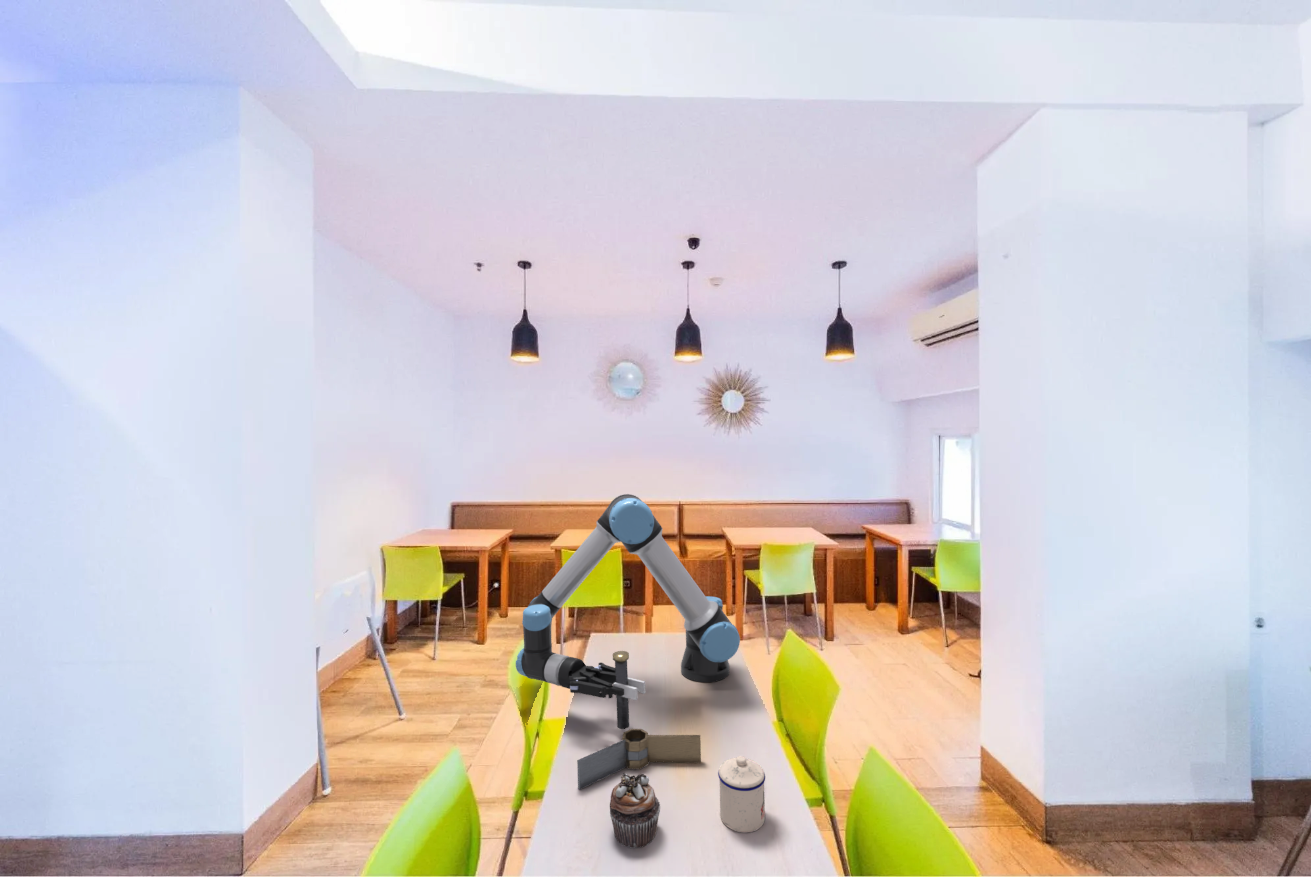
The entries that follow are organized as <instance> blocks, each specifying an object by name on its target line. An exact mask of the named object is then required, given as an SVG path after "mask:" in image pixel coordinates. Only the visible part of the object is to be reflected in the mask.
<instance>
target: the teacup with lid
mask: <svg viewBox="0 0 1311 877" xmlns="http://www.w3.org/2000/svg"><path fill="white" fill-rule="evenodd" d="M717 776H718V778H719V816H720V820H722V823H723V824H724V825H725V826H726V827H728V828H729V829H730V830H733V831H734V832H739V833H752V832H755V831H756V832H757V830H759V829H760V828H762V826H763V825H764V823H765V819H766V813H765V812H766V808H765V782H766V774H765V770H764V768H762V766H761V764H759V763H758V762H756V761H754V760H752V759H749V758H747V757H745V756H743V755H738V756H737V757H732V758H728V759H727V760H724V761H723V762H722V763H721V764H720V766H719V768H718V772H717Z"/></svg>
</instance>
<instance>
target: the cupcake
mask: <svg viewBox="0 0 1311 877" xmlns="http://www.w3.org/2000/svg"><path fill="white" fill-rule="evenodd" d="M620 779H621V780H620V782H618V783H617V784H616V785H615V786H614V787H613V788H612V790H611V794H610V802H609V815H610V820H611V824H612V827H613V832H614V837H615V838H616V841H617V842H618V843H620V845H622V846H624V847H627V848H633V849H637V848H638V849H640V848H641V847H642V846H643V847H645V846H647V845H649V844H650V843H651V842H653V841H652V840H654V838H656V834H657V828H658V822H659V817H660V811H661V804H660V801H659V799H658V798H657V796H656V793H655V789H654V788H653V786H652V785H651V784H650V778H649V776H647V775H646V774H645V773H643V772H642V773H640V774H638V775H634V774H633V775H631V776H630V775H629V774H627V773H626V772H625V771H624V772H623V773H622V774H621V777H620Z"/></svg>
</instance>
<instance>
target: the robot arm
mask: <svg viewBox="0 0 1311 877" xmlns="http://www.w3.org/2000/svg"><path fill="white" fill-rule="evenodd" d="M662 535H663V527H662V525H661V524H660V522H659V521H658V519H657V518H656V517H655V516H654V514H653V511H652V510H651V508H650V507H649V505H647V503H645V502H644V501H643V500H641V499H640V498H639V496H636V495H634V494H629V493H627V494H626V493H625V494H620V495H618V496H616V497H615V498H613V499H612V501H611V502H609V504H608V506H607V508H606V509H605V510H604V512H603V513H602V514H601V516H599V518H598V519H597V521H596V527H595V528H594V529H593V530H592V531H591V533H590V534H589V535H588V536H587V538H586V539H585V540H584V541H583V542H582V543H581V545H579V547H578V548H577V549H576V550H575V551H574V553H572V555H571V556H570V558H568V559H567V561H566V562H565V563H564V565H562V566H561V568H560V569H559V571H558V572H557V573H556V574H555V575H554V576H553V577H552V578H551V580H550V581H549V583H547V585H546V586H544V588H543V590H542V591H541V592H540V593H539V594H538V595H537V596H535V597H534V598H533V599H532V600H531V601H530V603H529V604H528V606H527V607H526V608H524V610H523V611H522V621H521V622H522V631H523V648H522V649H521V650H520V651H519V652H518V654H517V655H516V660H515V669H516V671H517V673H518V674H519V675H521V676H524V677H527V678H528V679H531V680H536V681H541V682H545V683H549V684H552V685H555V686H557V687H561V688H565V689H569V692H570V693H571V694H573V693H574V694H575V693H577V694H582V695H587V696H591V697H592V696H593V697H597V698H601V699H605V698H607V695H608V699H612V698H614V697H613V696H616V695H617V696H622V697H625V698H628V700H633V701H637V700H638V693H641V694H645V693H646V681H645V680H641V679H638V678H637V679H636V678H632V677H629V676H628V685H624V684H620V683H616V676H615V666H612V665H611V666H610V665H607V664H605V663H604V662H598V666H593V665H586V664H585V662H584V660H582V659H581V658H576V657H573V656H568V655H565V654H560V653H556V652H553V643H552V626H553V624H552V622H553V619H554V617H555V615H557V613H558V612H559V611H560V610H561V608H562V607H563V606H564V604H566V602H567V601H568V600H569V599H570V597H571V596H572V595H573V594H574V593H575V592H576V590H577V589H578V588H579V587H580V586H581V584H582V583H583V582H584V581H585V579H586V578H587V577H588V576H589V575H590V573H592V571H593V570H594V569H595V567H596V566H597V565H598V564H599V563H600V561H602V559H603V558H604V557H605V556H606V554H608V552H609V551H610V550H611V549H612V547H613V546H614V545H615V544H616V543H618V544H619V543H621V544H622V545H623V546H624V548H625V549H626V550H627V552H628V553H629V554H631V555H633V554H634V555H637V556H638V558H639V559H640V560H641V561H642V563H643V564H644V566H645V567H646V568H647V570H648V572H649V573H650V574H651V576H653V578H654V579H655V581H656V582H657V583H658V584H659V587H661V589H662V590H663V591H664V594H666V595H667V598H669V600H670V601H671V603H672V604H673V605H674V607H675V608H676V609H677V610H678V612H679V613H680V615H681V616H682V617H683V619H684V624H683V628H684V629H685V648H684V652H683V655H682V659H681V662H680V673H681V675H683V677H684V678H687V679H688V680H691V681H693V682H694V681H695V682H701V683H711V682H712V683H713V682H717V681H721V680H723V679H726V678H727V677H728V676H729V675H730V663H729V660H730V659H731V658H733V657H734V656H735V654H736V653H737V652H738V651H739V648H740V642H741V637H740V634H739V631H738V628H737V627H736V626H735V625H734V624H733V623H732V622H731V620H730V619H729V618H728V616H727V615H726V614H725V612H724V611H723V607H724V604H723V600H722V599H721V598H720V597H716V596H706V595H705V594H704V592H703V591H702V590H701V588H700V587H699V586H698V584H697V582H696V581H695V580H694V579H693V578H692V575H691V574H690V573H689V572H688V571H687V569H686V568H685V565H683V563H682V562H681V561H680V559H679V558H678V557H677V555H676V554H675V552H674V551H673V549H672V548H671V547H670V545H669V544H668V543H667V541H666V540H665V539H664V537H663V536H662Z"/></svg>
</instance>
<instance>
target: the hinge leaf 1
mask: <svg viewBox="0 0 1311 877" xmlns="http://www.w3.org/2000/svg"><path fill="white" fill-rule="evenodd" d="M641 740H643V739H641V738H632V739H630V740H629V741H630V742H639V741H641ZM647 756H648V747H647V748H645V749H643V750H642V751H640V752H635V751H628V750H626V741H625V739H624V740H622V739H621V740H620V741H617V742H615V743H613V744H611V745H609V746H605V747H604V748H602V749H600V750H597V751H595V752H593V753H591V754H588V755H586V756H584V757H581V758H580V759H577V762H576V763H577V768H576V769H577V788H578V789H579V790H582V789H584V788H586V787H588V786H590V785H592V784H594V783H596V782H598V781H600V780H602V779H605V778H606V777H609V776H611V775H613V774H615V773H617V772H620V771H622V770H623V769H625V768H626V769H627V762H626V759H628V760H637V761H639V760H641V759H643V758H645V757H647ZM581 788H582V789H581Z"/></svg>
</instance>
